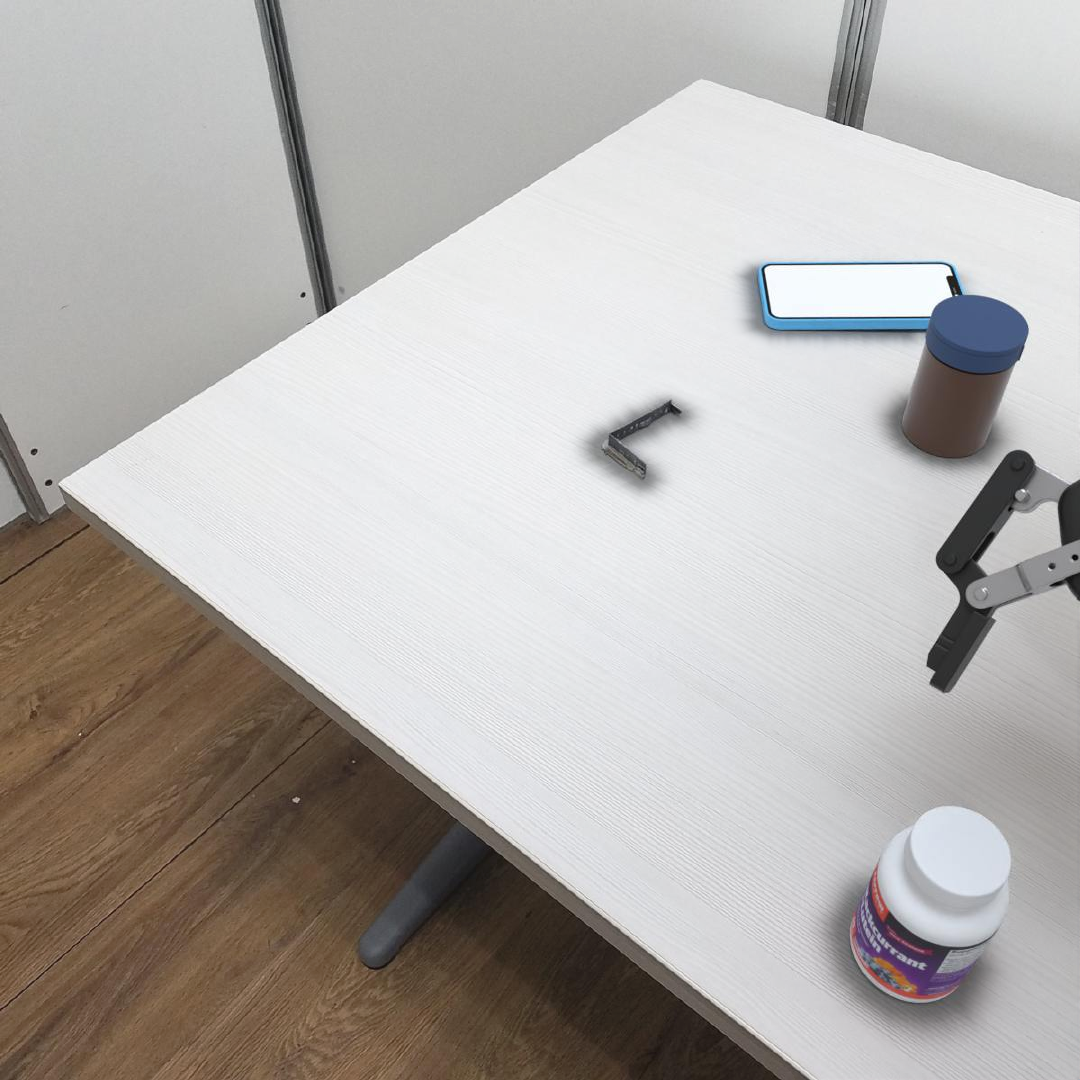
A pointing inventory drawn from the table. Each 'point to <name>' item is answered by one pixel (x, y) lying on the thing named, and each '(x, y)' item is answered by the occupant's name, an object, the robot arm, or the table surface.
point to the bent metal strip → (629, 428)
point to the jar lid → (976, 333)
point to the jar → (952, 407)
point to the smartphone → (854, 294)
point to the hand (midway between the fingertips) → (1032, 746)
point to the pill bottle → (932, 904)
